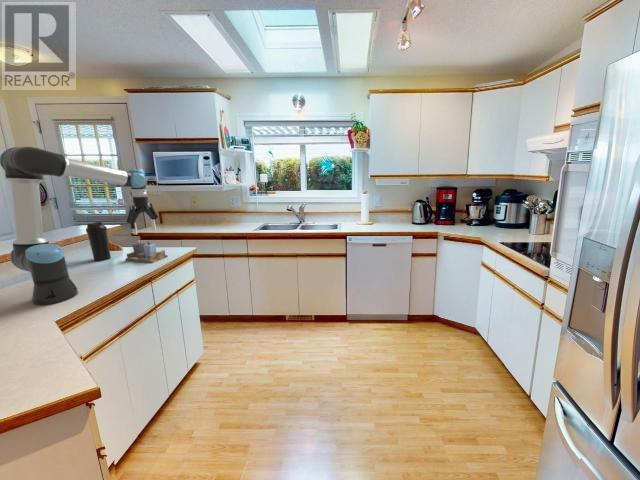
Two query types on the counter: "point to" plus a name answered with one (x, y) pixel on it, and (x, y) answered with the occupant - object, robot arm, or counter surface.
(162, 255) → the slot rack
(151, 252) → the plug blue
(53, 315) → the counter surface
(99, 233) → the water bottle
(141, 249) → the plug charcoal
